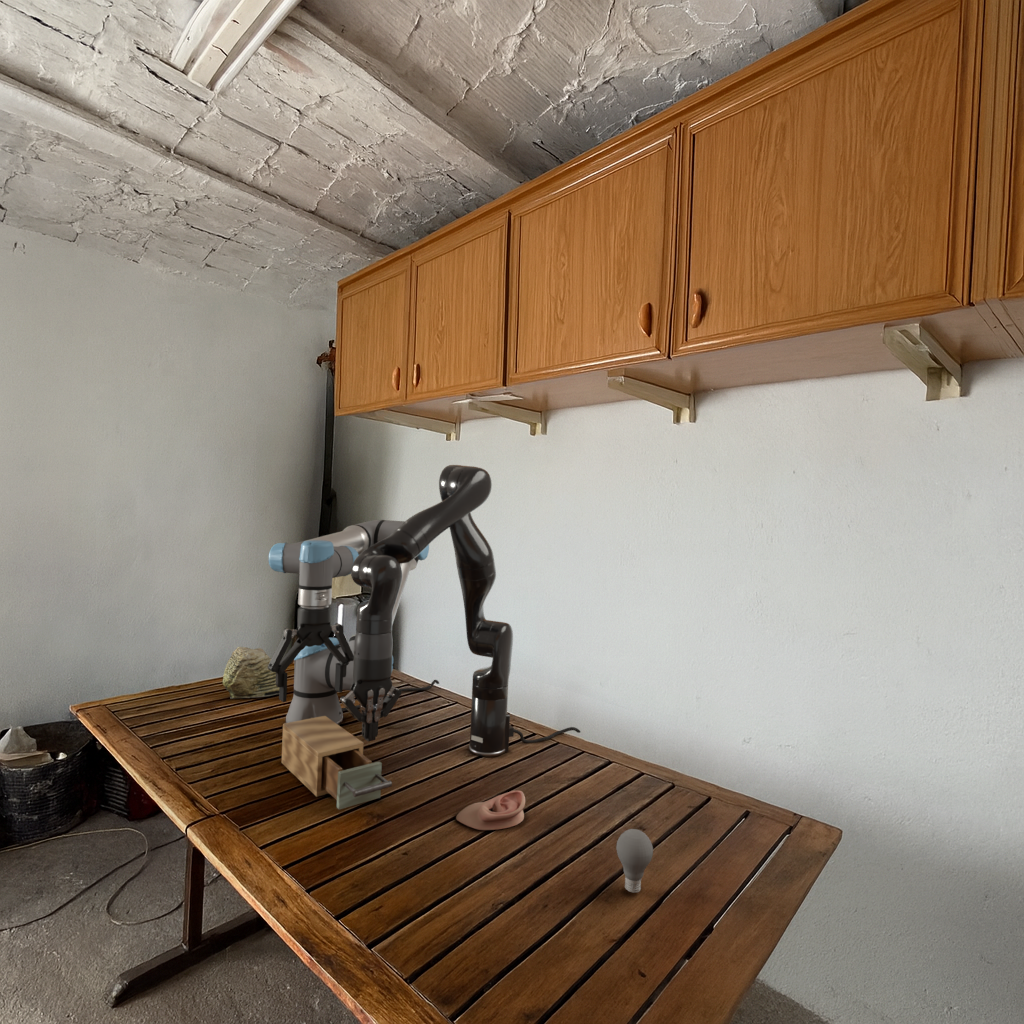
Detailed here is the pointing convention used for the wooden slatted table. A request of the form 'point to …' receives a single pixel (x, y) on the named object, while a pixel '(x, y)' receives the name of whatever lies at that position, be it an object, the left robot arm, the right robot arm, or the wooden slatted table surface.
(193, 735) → the wooden slatted table surface
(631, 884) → the light bulb
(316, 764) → the cabinet
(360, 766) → the drawer
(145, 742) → the wooden slatted table surface
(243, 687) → the fossil
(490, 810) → the anatomical model
